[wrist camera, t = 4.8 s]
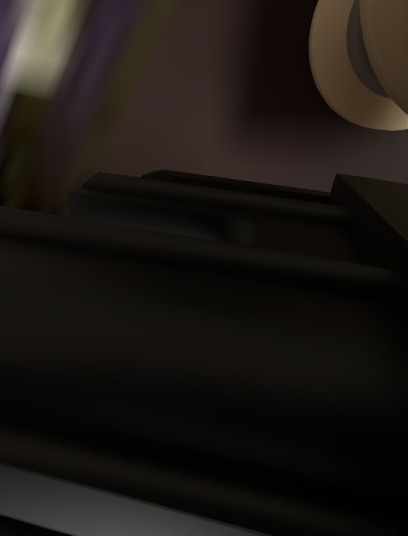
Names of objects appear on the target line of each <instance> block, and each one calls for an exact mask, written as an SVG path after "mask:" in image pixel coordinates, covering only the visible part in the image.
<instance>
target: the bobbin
mask: <svg viewBox="0 0 408 536" xmlns="http://www.w3.org/2000/svg"><path fill="white" fill-rule="evenodd" d="M309 61H310V67H311V71H312V76H313V79H314V81H315V84H316V86H317V88H318V90H319V92H320V94H321V96H322V97H323V99H324V100H325V101H326V103H327V104H328V105H329V106H330V107H331V108H332V109H333V110H334V111H335V112H336V113H337V114H338V115H340V116H341V117H343V118H344V119H346V120H348V121H349V122H351V123H353V124H356V125H359V126H362V127H366V128H372V129H378V130H404V129H408V0H318V2H317V5H316V8H315V11H314V14H313V18H312V22H311V26H310V34H309Z"/></svg>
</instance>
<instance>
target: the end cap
mask: <svg viewBox="0 0 408 536" xmlns="http://www.w3.org/2000/svg"><path fill="white" fill-rule="evenodd" d="M67 194H68V213H69V217H65V216H58V215H52V214H46V213H40V212H34V211H27V210H21V209H15V208H9V207H3V206H0V536H408V184H403V183H397V182H390V181H384V180H378V179H372V178H365V177H358V176H351V175H344V174H337V175H336V177H335V179H334V182H333V185H332V189H331V193H327V192H322V191H316V190H308V189H301V188H294V187H286V186H279V185H272V184H265V183H257V182H250V181H243V180H235V179H228V178H221V177H214V176H206V175H199V174H192V173H184V172H177V171H170V170H159V171H152V172H149V173H147V174H144V175H143V176H142V177H140V178H139V177H131V176H124V175H117V174H110V173H103V172H98V173H97V174H95V175H93V176H92V177H91V178H90V179H89V180H88V181H87V182H86V183H85V184H84V185H83V186H81V187H78V188H75V189H72V190H69V191H67Z"/></svg>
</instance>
